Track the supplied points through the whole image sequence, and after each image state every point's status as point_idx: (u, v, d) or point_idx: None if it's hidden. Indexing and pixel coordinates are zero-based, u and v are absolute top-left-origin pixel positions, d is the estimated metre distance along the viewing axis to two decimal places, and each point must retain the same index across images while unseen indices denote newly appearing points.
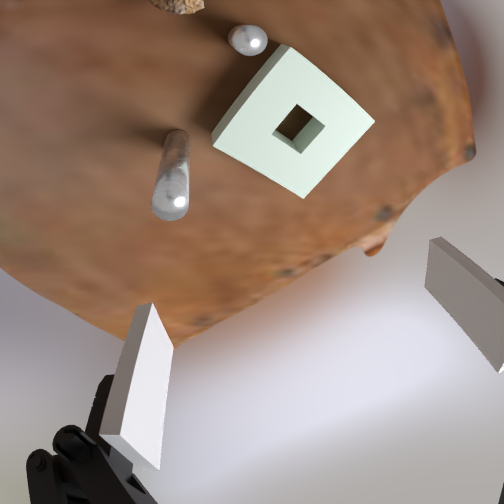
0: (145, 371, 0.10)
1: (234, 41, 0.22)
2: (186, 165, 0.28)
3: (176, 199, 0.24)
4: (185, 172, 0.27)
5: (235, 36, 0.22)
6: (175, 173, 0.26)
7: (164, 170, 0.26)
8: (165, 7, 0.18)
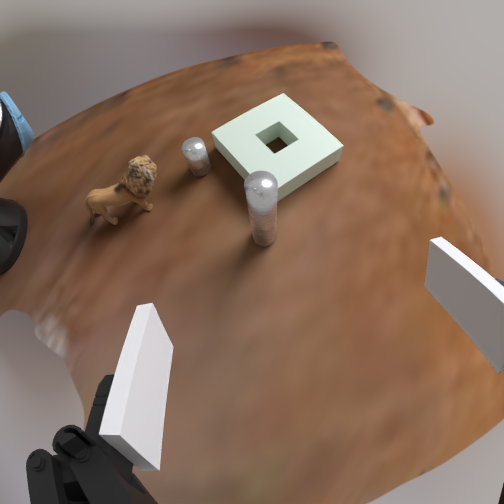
0: (145, 371, 0.10)
1: (189, 154, 0.40)
2: None
3: (257, 177, 0.29)
4: None
5: (186, 152, 0.40)
6: None
7: None
8: (140, 181, 0.37)
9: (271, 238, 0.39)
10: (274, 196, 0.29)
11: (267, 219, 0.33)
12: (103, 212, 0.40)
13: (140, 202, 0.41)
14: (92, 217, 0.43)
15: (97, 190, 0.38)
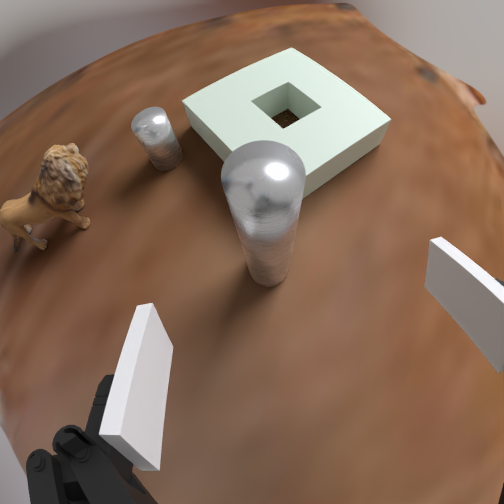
0: (145, 371, 0.10)
1: (141, 132, 0.22)
2: None
3: (253, 156, 0.11)
4: None
5: (136, 131, 0.22)
6: None
7: None
8: (57, 184, 0.20)
9: (282, 275, 0.22)
10: (297, 202, 0.11)
11: (277, 251, 0.15)
12: (21, 234, 0.23)
13: (67, 217, 0.24)
14: (15, 240, 0.26)
15: (9, 202, 0.21)
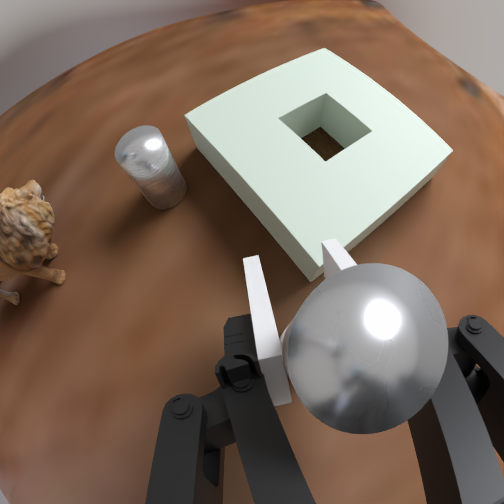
0: None
1: (127, 164, 0.16)
2: None
3: (356, 307, 0.05)
4: None
5: (121, 162, 0.16)
6: None
7: None
8: (13, 242, 0.14)
9: None
10: None
11: None
12: None
13: (35, 275, 0.18)
14: None
15: None
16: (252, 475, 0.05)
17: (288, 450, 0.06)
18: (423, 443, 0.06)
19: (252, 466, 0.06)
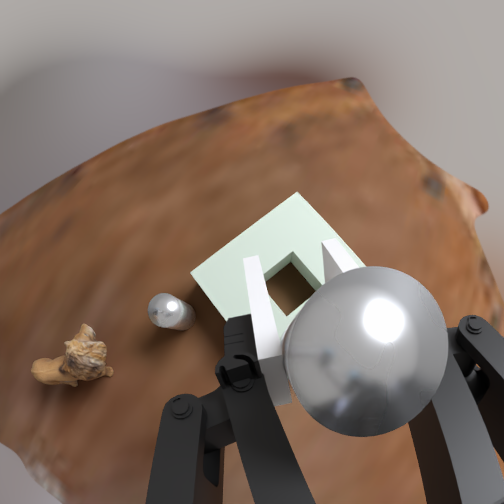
0: None
1: (159, 325, 0.26)
2: None
3: (356, 310, 0.05)
4: None
5: (155, 322, 0.27)
6: None
7: None
8: (86, 371, 0.24)
9: None
10: None
11: None
12: (56, 383, 0.27)
13: None
14: None
15: (40, 365, 0.25)
16: (252, 475, 0.05)
17: (288, 450, 0.06)
18: (423, 443, 0.06)
19: (252, 466, 0.06)
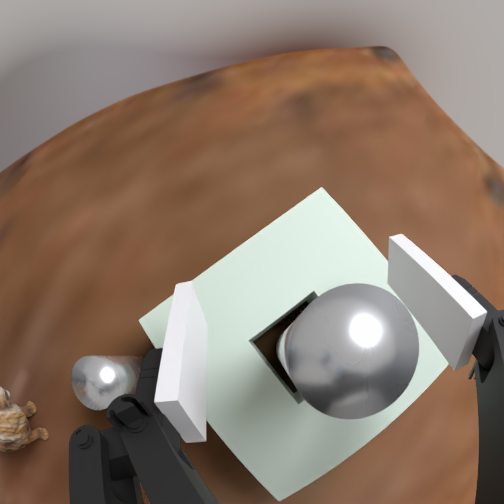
0: (191, 343, 0.11)
1: (88, 405, 0.13)
2: None
3: (342, 318, 0.06)
4: None
5: (81, 400, 0.14)
6: None
7: None
8: None
9: None
10: None
11: None
12: None
13: None
14: None
15: None
16: None
17: (188, 484, 0.05)
18: (489, 424, 0.06)
19: (159, 503, 0.05)
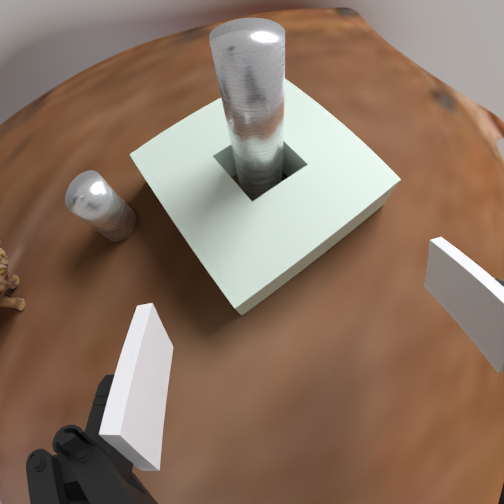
0: (145, 371, 0.10)
1: (74, 210, 0.17)
2: None
3: (238, 25, 0.10)
4: None
5: (70, 207, 0.17)
6: None
7: None
8: None
9: None
10: (278, 54, 0.10)
11: (264, 128, 0.14)
12: None
13: None
14: None
15: None
16: None
17: None
18: None
19: None
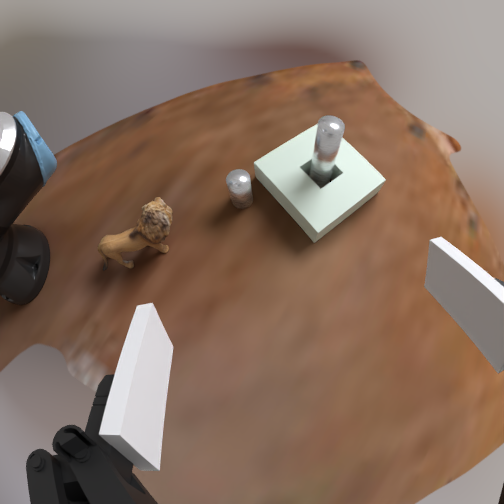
0: (145, 371, 0.10)
1: (235, 188, 0.39)
2: None
3: (327, 120, 0.32)
4: None
5: (231, 186, 0.40)
6: None
7: (315, 144, 0.36)
8: (157, 227, 0.37)
9: (327, 183, 0.43)
10: (342, 134, 0.32)
11: (331, 158, 0.36)
12: (118, 258, 0.40)
13: (157, 246, 0.41)
14: (106, 261, 0.42)
15: (110, 237, 0.38)
16: None
17: None
18: None
19: None
